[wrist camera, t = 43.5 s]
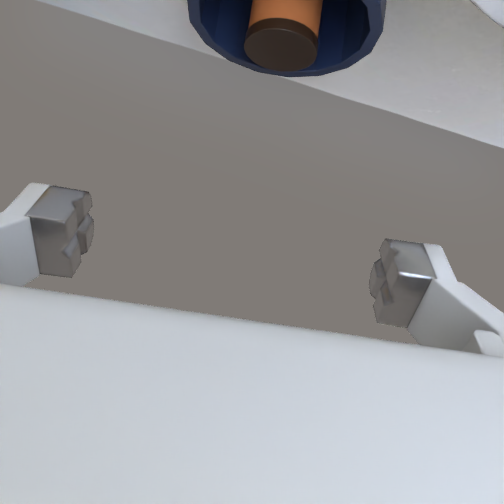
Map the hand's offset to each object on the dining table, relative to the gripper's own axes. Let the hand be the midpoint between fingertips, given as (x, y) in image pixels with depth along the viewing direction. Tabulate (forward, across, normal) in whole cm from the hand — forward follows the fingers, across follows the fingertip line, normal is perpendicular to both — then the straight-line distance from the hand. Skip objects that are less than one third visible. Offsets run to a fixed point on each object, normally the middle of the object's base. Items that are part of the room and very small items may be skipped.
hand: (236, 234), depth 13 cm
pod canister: (+27, -1, -5) cm, 28 cm away
